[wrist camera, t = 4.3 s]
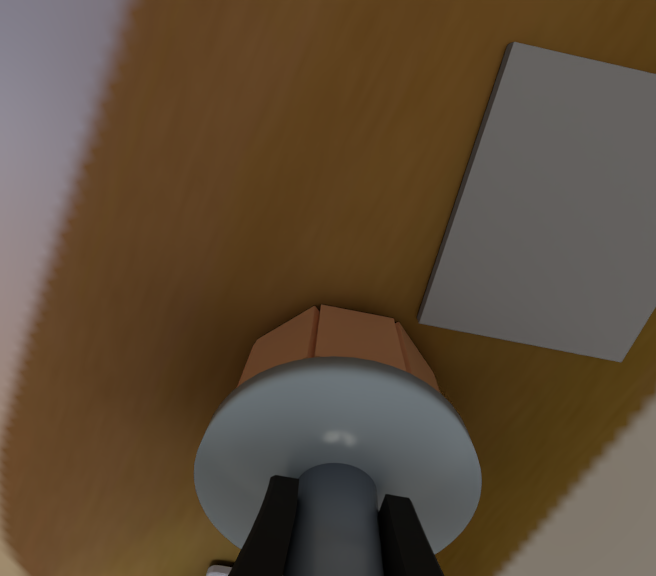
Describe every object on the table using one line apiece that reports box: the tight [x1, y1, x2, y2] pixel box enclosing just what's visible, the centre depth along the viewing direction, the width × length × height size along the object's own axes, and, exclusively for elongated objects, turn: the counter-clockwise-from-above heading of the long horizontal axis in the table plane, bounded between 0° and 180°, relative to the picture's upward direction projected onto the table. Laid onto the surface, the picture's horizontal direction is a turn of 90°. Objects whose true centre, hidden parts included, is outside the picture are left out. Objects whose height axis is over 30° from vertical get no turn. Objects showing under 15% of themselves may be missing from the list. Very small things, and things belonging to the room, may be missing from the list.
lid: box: [194, 356, 482, 576], centre depth 9 cm, size 8×8×4 cm
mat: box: [417, 42, 656, 362], centre depth 11 cm, size 8×7×1 cm
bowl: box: [237, 304, 440, 393], centre depth 13 cm, size 7×7×3 cm
